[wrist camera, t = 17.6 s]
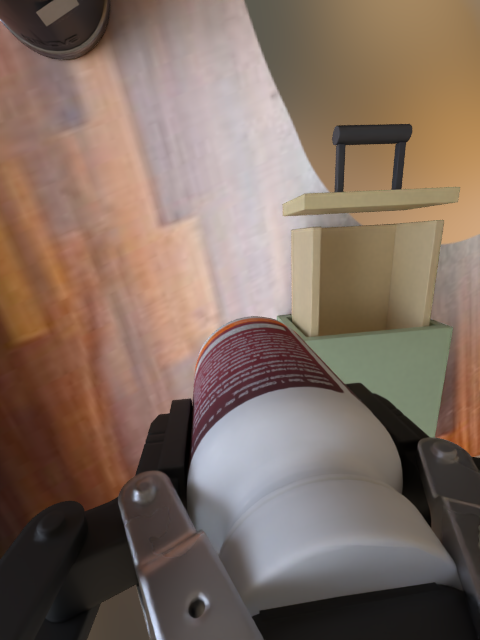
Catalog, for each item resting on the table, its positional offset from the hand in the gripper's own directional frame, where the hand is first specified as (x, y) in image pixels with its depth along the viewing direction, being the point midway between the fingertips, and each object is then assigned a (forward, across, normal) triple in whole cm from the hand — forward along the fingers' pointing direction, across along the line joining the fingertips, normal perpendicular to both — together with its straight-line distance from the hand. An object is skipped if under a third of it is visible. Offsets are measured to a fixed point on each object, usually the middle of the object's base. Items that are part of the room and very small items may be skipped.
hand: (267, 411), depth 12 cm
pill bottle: (+4, 0, 0) cm, 4 cm away
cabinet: (+22, -13, +10) cm, 27 cm away
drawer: (+21, -13, -5) cm, 25 cm away
